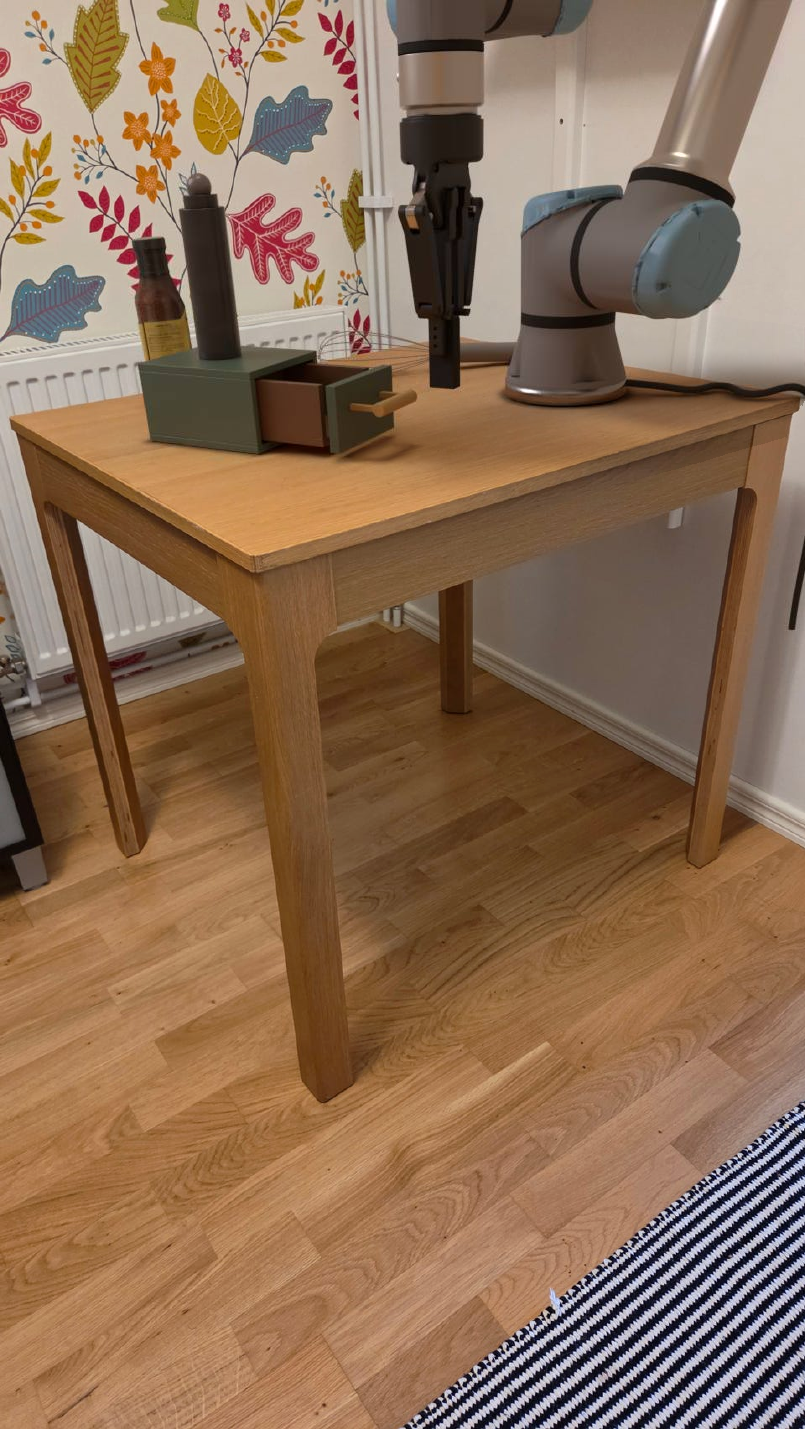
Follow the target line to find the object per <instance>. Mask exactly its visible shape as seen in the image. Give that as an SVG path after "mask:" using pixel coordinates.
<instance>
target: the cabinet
mask: <svg viewBox="0 0 805 1429" xmlns="http://www.w3.org/2000/svg"><path fill="white" fill-rule="evenodd" d="M241 352H242V355H241V356H240V357H237V358H233V359H227V360H202V359H200V358H199V354H198V347H197V346H196V347H192V349H188V350H185V351H181V352H178V353H174V354H170V355H167V356H163V357H159V358H156V359H152V360H148V361H145V360H144V361H142V362H138V363H137V369H138V375H139V380H140V386H141V392H142V393H141V394H142V398H143V404H144V410H145V417H146V422H147V427H148V434H149V439H150V441H151V442H158V443H167V444H174V445H183V446H189V447H196V448H197V447H198V448H206V449H213V450H222V451H229V452H236V453H237V452H238V453H247V454H253V455H260V454H263V453H265V452H267V451H269V450H272V449H274V448H277V447H279V446H281V445H283V444H285V443H284V442H275V441H267V440H261V432H260V423H259V414H258V405H257V396H256V387H255V378H258V377H261V376H264V375H267V374H270V373H273V372H276V371H279V370H282V369H285V368H288V367H291V366H294V365H297V364H300V363H303V362H305V363H318V351H317V350H316V349H315V350H313V349H300V348H299V349H298V348H283V347H268V346H254V345H253V346H252V345H250V346H249V345H241Z"/></svg>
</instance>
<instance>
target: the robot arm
mask: <svg viewBox="0 0 805 1429" xmlns="http://www.w3.org/2000/svg"><path fill="white" fill-rule="evenodd" d="M792 2H793V0H703V3H702V6H701V9H700V11H699V13H698V14H699V15H698V17H697V20H696V23H695V26H694V29H693V32H692V34H691V37H690V40H689V44H688V47H687V50H686V53H685V55H684V58H683V62H682V63H681V64H682V65H681V67H680V71H679V73H678V77H677V79H676V82H675V85H674V88H673V91H672V94H671V97H670V100H669V103H668V105H667V108H666V112H665V115H664V118H663V121H662V124H661V126H660V130H659V133H658V136H657V138H656V142H655V145H654V148H653V151H652V153H651V156H650V157H649V158H647V159H645V160H643V161H642V162H640V163H638V164H637V165H636V166H634V167H633V168H632V170H631V172H630V175H629V178H628V181H627V183H626V187H625V190H624V188H623V187H622V186H621V185H620V184H603V185H592V186H585V187H578V188H571V189H565V190H558V191H552V192H546V193H543V194H538V195H535V196H532V197H531V198H530V199H529V200H528V201H527V202H526V203H525V205H524V207H523V213H522V225H521V226H522V227H521V228H522V229H521V231H520V328H519V334H518V336H517V340H516V342H517V343H516V346H515V349H514V352H513V355H512V356H511V357H510V359H509V362H507V366H506V368H507V372H506V375H505V378H504V394H505V395H506V397H507V398H510V399H511V400H514V401H517V402H522V403H526V404H531V405H533V404H534V405H543V406H584V405H594V404H600V403H605V402H610V401H613V400H616V399H619V398H621V397H622V396H624V395H625V394H626V390H627V387H629V388H638V389H648V390H657V391H664V392H671V393H676V394H677V393H678V394H690V395H691V394H701V393H706V392H710V391H715V390H720V391H721V390H723V391H727V392H729V393H731V394H733V395H735V396H737V397H741V398H747V399H758V398H764V397H769V396H773V395H777V394H780V393H785V392H795V393H796V392H797V393H800V394H801V395H803V396H804V397H805V385H804V384H801V383H797V382H789V383H783V384H779V385H775V386H771V387H767V388H763V389H756V390H755V389H754V390H753V389H752V390H751V389H746V388H745V389H744V388H741V387H739V386H737V385H736V384H733V383H732V382H731V383H730V382H722V381H719V382H718V381H712V382H708V383H704V384H699V385H680V384H674V383H673V384H672V383H668V382H666V383H665V382H661V381H659V382H658V381H650V380H639V379H630V378H627V373H626V369H625V365H624V360H623V357H622V356H623V355H622V352H621V348H620V344H619V341H618V336H617V332H616V318H617V316H616V314H617V313H621V314H628V315H636V316H643V317H646V318H648V319H652V320H665V319H666V320H667V319H672V320H673V319H674V320H682V319H683V320H684V319H688V318H692V317H694V316H697V315H698V314H700V313H701V312H703V311H705V310H706V309H708V308H709V307H711V306H712V305H713V304H714V303H715V302H716V301H717V300H718V299H719V297H721V295H722V294H723V292H724V291H725V289H726V288H727V286H728V284H729V283H730V281H731V279H732V277H733V276H734V272H735V270H736V268H737V265H738V261H739V257H740V255H741V254H740V253H741V248H742V244H741V242H740V241H738V239H739V237H740V236H741V235H742V231H741V224H740V221H739V218H738V216H737V214H736V212H735V211H734V210H733V208H734V206H735V203H736V198H737V196H736V194H735V191H734V190H733V187H732V185H731V183H730V181H729V177H730V175H731V172H732V169H733V167H734V165H735V162H736V158H737V155H738V153H739V150H740V147H741V143H742V142H743V138H744V136H745V133H746V131H747V127H748V125H749V123H750V119H751V116H752V114H753V111H754V108H755V106H756V103H757V100H758V96H759V94H760V92H761V89H762V86H763V83H764V80H765V77H766V75H767V72H768V70H769V66H770V63H771V61H772V58H773V55H774V53H775V50H776V47H777V44H778V41H779V38H780V35H781V33H782V30H783V27H784V25H785V22H786V19H787V16H788V13H789V11H790V9H791V5H792ZM593 4H594V0H386V2H385V7H386V16H387V19H388V24H389V25H390V29H391V32H392V33H393V35H394V36H395V38H396V45H397V56H398V57H397V58H398V59H397V61H398V68H397V70H398V72H397V74H396V82H397V83H398V96H399V97H398V99H399V101H398V102H399V109H401V110H402V111H406V112H405V113H406V114H405V115H406V117H402V118H401V121H400V122H399V150H400V151H399V152H400V156H399V157H400V161H401V162H402V163H403V165H406V166H413V168H414V170H413V178H412V183H411V194H412V198H411V200H410V202H409V204H400V205H399V206H398V209H397V216H398V219H399V222H400V226H401V229H402V231H403V234H404V241H405V249H406V250H405V251H406V255H407V262H408V270H409V277H410V284H411V285H410V286H411V293H412V299H413V305H414V312H415V314H416V315H417V316H416V317H417V318H418V319H421V320H422V319H423V320H428V322H427V323H428V326H427V328H428V346H429V348H428V350H429V352H428V355H429V356H428V357H429V358H428V359H429V361H428V366H429V367H428V370H429V373H428V374H429V375H428V376H429V388H431V389H432V388H433V389H441V390H442V389H445V390H456V389H458V388H460V387H461V363H460V343H461V317H470V314H471V311H472V310H471V308H466V307H470V306H471V304H472V298H473V290H474V280H475V268H476V267H475V266H476V258H477V248H478V247H477V245H478V239H479V238H478V235H479V227H480V226H479V225H480V221H481V217H482V213H483V209H484V199H483V197H482V196H473V194H472V192H471V189H472V180H471V176H470V167H469V164H471V163H479V162H480V161H482V159H483V158H484V143H485V142H484V135H485V134H484V131H485V130H484V128H485V127H484V126H485V124H484V122H485V120H484V118H482V114H478V113H479V112H478V108H480V107H483V105H484V104H485V43H487V42H493V41H498V40H499V41H500V40H506V39H513V38H518V37H528V36H541V37H542V38H543V39H544V38H551V37H553V36H565V35H569V34H572V33H573V32H575V31H576V30H577V29H578V28H580V27H581V25H583V24H584V22H585V20H586V19H587V18H588V15H589V14H590V11H591V9H592V7H593ZM795 578H796V579H795V584H794V590H793V594H792V600H791V606H790V612H789V619H788V621H789V622H788V626H787V630H789V631H795V630H796V625H797V618H798V612H799V606H800V601H801V600H800V599H801V595H802V589H803V583H804V579H805V536H804V538H803V543H802V547H801V554H800V559H799V564H798V569H797V574H796V577H795Z"/></svg>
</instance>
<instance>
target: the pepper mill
mask: <svg viewBox="0 0 805 1429" xmlns="http://www.w3.org/2000/svg"><path fill="white" fill-rule="evenodd" d="M185 188H186V192H187V194H183V195H182V201H183V207H180V208H178V215H179V223H180V229H181V237H182V244H183V245H182V246H183V251H184V259H185V265H186V273H187V280H188V289H189V295H190V303H191V309H192V310H191V311H192V316H193V317H192V318H193V324H194V332H195V338H196V347H198V354H199V358H200V359H202V360H227V359H233V358H237V357H240V356H241V355H242V352H241V346H242V344H241V336H240V327H239V318H238V308H237V302H236V301H237V300H236V292H235V283H234V276H233V266H232V259H231V258H232V257H231V251H230V250H231V249H230V242H229V233H228V224H227V216H226V206H224V205H220V204H219V197H218V193H212V190H213V189H212V183H211V180H210V178H209V177H208V176H207V175H205V174H204V173H201V172H195V173H192V174H191V175H189V177H188V178H187V180H186V182H185Z"/></svg>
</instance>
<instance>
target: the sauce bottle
mask: <svg viewBox="0 0 805 1429" xmlns="http://www.w3.org/2000/svg"><path fill="white" fill-rule="evenodd" d="M131 246H132V251H133V253H134V254H135V260H136V265H137V270H138V271H137V272H138V273H137V275H138V278H139V280H138V286H137V289H136V292H135V295H134V305H135V306H134V307H135V311H136V315H137V320H138V322H137V326H138V330H139V336H140V341H141V347H142V351H143V356H144V362H145V361H148V360H152V359H156V358H159V357H163V356H167V355H170V354H174V353H178V352H181V351H185V350H188V349H192V348H193V345H192V338H191V332H190V327H189V321H188V315H187V314H188V313H187V309H186V305H185V303H184V301H183V298H182V296H181V294H180V292H179V290H178V288H177V286H176V284H175V281H174V279H173V278H172V275H171V273H170V272H171V271H170V269H169V263H168V257H167V252H166V250H167V244H166V239H165V237H164V236H161V235H160V236H159V235H158V236H144V237H137V238H133V239H131Z"/></svg>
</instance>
